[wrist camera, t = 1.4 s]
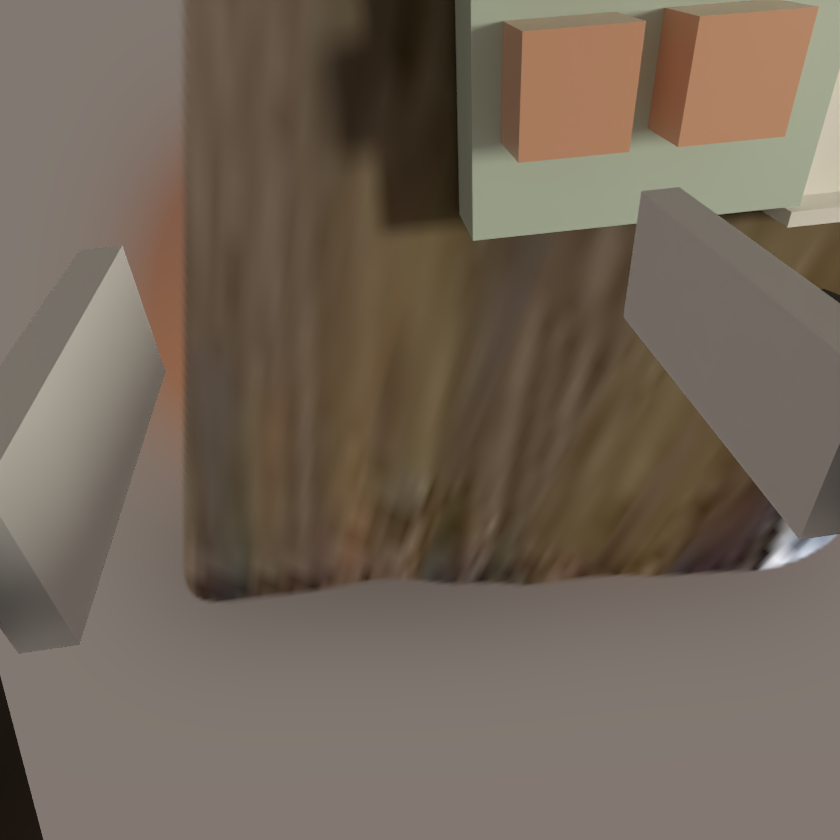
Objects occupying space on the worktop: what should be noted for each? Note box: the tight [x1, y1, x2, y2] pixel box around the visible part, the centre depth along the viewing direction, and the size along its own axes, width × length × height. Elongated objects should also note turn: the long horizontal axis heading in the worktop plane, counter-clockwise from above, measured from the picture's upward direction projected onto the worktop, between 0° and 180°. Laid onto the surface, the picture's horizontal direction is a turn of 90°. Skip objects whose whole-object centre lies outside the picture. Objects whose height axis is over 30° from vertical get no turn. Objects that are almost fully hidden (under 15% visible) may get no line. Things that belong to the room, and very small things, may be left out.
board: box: [455, 0, 840, 241], centre depth 29 cm, size 13×16×4 cm
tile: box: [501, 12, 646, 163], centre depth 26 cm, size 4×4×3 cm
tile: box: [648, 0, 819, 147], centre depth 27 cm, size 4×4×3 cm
